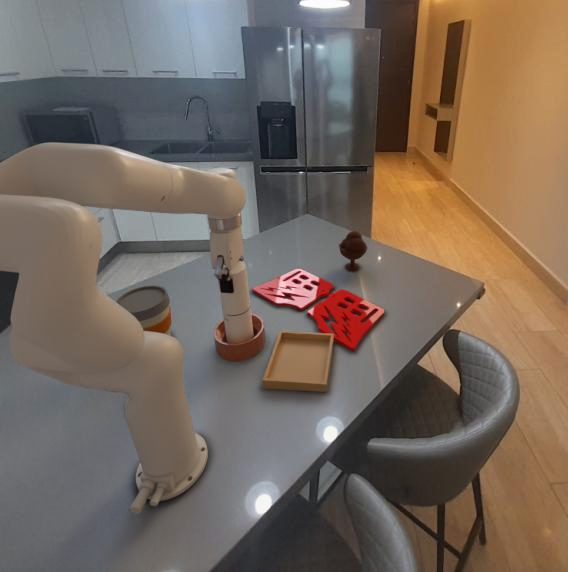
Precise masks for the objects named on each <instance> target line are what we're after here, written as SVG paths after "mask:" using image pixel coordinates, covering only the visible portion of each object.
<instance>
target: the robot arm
mask: <svg viewBox="0 0 568 572" xmlns="http://www.w3.org/2000/svg"><path fill="white" fill-rule="evenodd" d="M246 202H247V195H246V190H245V188H244V186H243V184H241V182H239V180H238V177H237V173H236V172H235V171H234V170H233V169H231V168H229V167H214V168H210V169H209V168H208V169H207V170H205V171H203V170H199V169H194V168H190V167H186V166H182V165H177V164H172V163H168V162H164V161H160V160H157V159H154V158H150V157H148V156H144V155H141V154H138V153H134V152H132V151H128V150H126V149H122V148H118V147H115V146H110V145H104V144H94V143H93V144H92V143H74V142H55V141H54V142H52V141H51V142H50V141H49V142H43V143H42V142H41V143H39V144H35V145H32V146H30V147H28V148H25V149H23V150H21V151H19V152H17V153H15V154H13V155H12V156H10V157H8V158H6V159H4V160H3V161H1V162H0V272H10V273H18V279H17V284H16V288H15V293H14V297H13V302H12V307H11V312H10V325H11V328H12V329H11V331H10V335H9V348H10V352H11V355H12V357H13V358H14V360H15V361H16V362H17V363H18V364H19V365H20V366H22V367H23V368H25V369H27V370H30V371H32V372H35V373H38V374H40V375H43V376H46V377H48V378H51V379H54V380H57V381H59V382H62V383H65V384H67V385H71V386H74V387H80V388H86V389H93V390H100V391H107V392H108V391H109V392H112V393H113V392H114V393H120V394H123V395H128V397H129V398H128V400H127V401H126V404H125V406H124V413H123V414H124V420H125V423H126V425H127V428H128V430H129V433H130V436H131V439H132V442H133V445H134V448H135V451H136V454H137V456H138V460H139V463H138V466H137V468H136V472H135V485H136V487H137V490H138V493H137V495H136V497H134V500H133V502H132V504H131V505H130V506H129V512H131V513H132V514H135V515H139V514H140V513H142V511H143V509H144V507H145V505H146V504H147V502H148V501H147V500H149V505H150V506H152V507H157V506H158V505H159V503H160V501H161V502H162V501H166V500H167V501H168V500H170V499H173V498H176V497H178V496H179V495H182V494H183V493H184V492H186V491H187V490H189V489H190V488H191V487H192V486H193V485H194V484H196V482H197V481H198V479H199V478H200V477H201V475H202V474H203V472H204V470H205V467H206V465H207V461H208V458H209V450H208V445H207V442H206V441H205V439H204V437H202V436H201V435H200V434H199V433H197V432H195V428H194V424H193V419H192V414H191V411H190V406H189V402H188V397H187V393H186V388H185V384H184V374H183V373H184V372H183V371H184V370H183V369H184V350H183V346H182V344H181V342H180V340H178V339H177V338H176V337H174V336H172V335H171V336H169V335H167V334H163V333H158V332H150V331H143V328H142V326H141V324H140V322H139V321H138V320H137V319H136V317H134V316H133V315H132V314H131V313H130V312H128V311H127V310H126V309H124V308H123V307H121V306H120V305H119V304H118V303H116V301H115V300H114V299H112V298H111V297H109V295H107V294H106V293H105V292H104V291H103V290H102V289H100V288H99V287H98V284H97V276H98V268H99V263H100V258H101V254H102V250H103V240H104V239H103V238H104V237H103V230H102V227H101V224H100V222H99V221H98V219H97V217H96V216H95V214H94V213H92V212H91V210H90V209H88V208H98V209H108V210H120V211H133V212H144V213H156V214H172V215H173V214H174V215H184V214H185V215H186V214H187V215H188V214H190V215H191V214H194V215H206V217H207V218H206V219H207V224H208V229H209V254H210V262H211V264H210V265H211V268H212V269H213V270H214V272H213V275H214V277H215V278H216V279H217V281H218V280H219V284H220V291H221V293H233V292H234V287H233V279H231V269H232V268H233V267H234V266H235V265H236V263H237V262H238V260H240V261H243V262H244V258H245V257H244V256H243V255H244V252H245V244H244V236H243V232H242V226H243V222H242V221H243V220H242V211H243V210H244V208H245V205H246ZM86 207H88V208H86ZM223 265H226V266H228V267H223ZM222 270H227V275H226V274H223V272H222ZM220 291H219V292H220Z"/></svg>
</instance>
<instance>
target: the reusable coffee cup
mask: <svg viewBox="0 0 568 572" xmlns="http://www.w3.org/2000/svg"><path fill="white" fill-rule="evenodd" d="M170 299H171V298H170V297H169V293H168V291H167V289H166V288H165V287H163V286H159V285H154V284H152V285H142V286H138V287H135V288H133V289H130V290H128V291H127V292H125V293H123V294H121V295H120V297H119V298H117V300H116V301H115V302H116V303H118V304H119V305H120V306H121V307H123V308H124V309H126V310H127V311H128V312H130V313H131V314H132V315H133V316H134V317H136V319H137V320H138V321H139V322H140V324H141V326H142V328H143V331H150V332H158V333H163V334H167V335H169V336H172V335H171V326H172V309H171V306H170V303H171V300H170Z"/></svg>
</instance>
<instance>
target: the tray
mask: <svg viewBox="0 0 568 572" xmlns="http://www.w3.org/2000/svg"><path fill="white" fill-rule="evenodd" d="M334 342H335V341H334V334H328V333H321V332H311V331H310V332H309V331H296V330H295V331H292V330H279V332H278V335H277V338H276V340H275V343H274V346H273V349H272V351H271V355H270V357H269V360H268V364H267V366H266V369H265V371H264V374H263V377H262V388H263V389H273V390H274V389H275V390H288V391H289V390H291V391H304V392H305V391H306V392H317V393H327V392H328V384H329V377H330V372H331V371H330V370H331V363H332V357H333V350H334Z"/></svg>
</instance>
